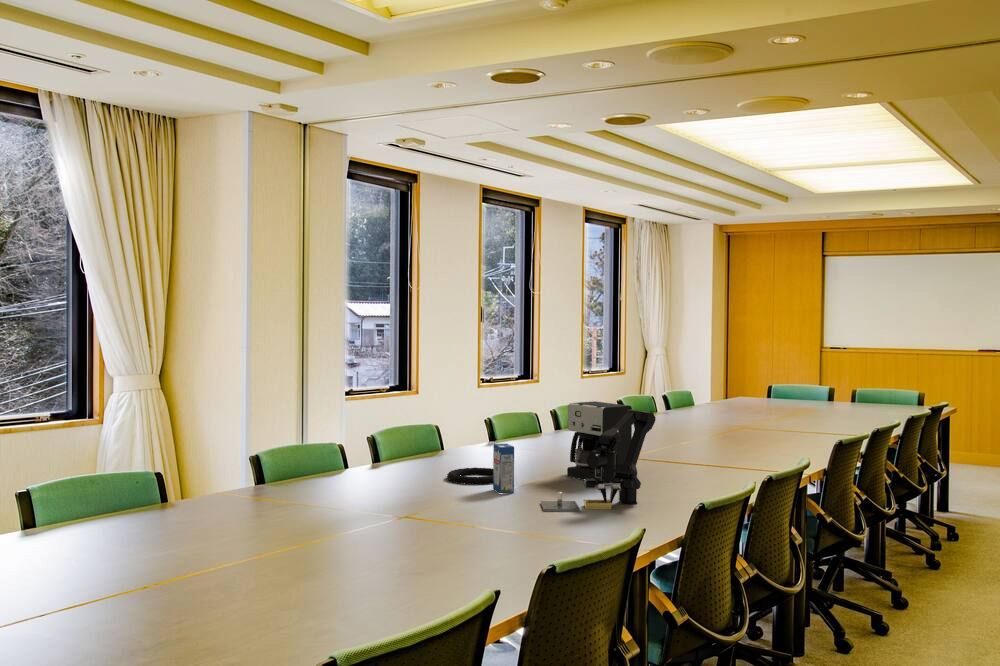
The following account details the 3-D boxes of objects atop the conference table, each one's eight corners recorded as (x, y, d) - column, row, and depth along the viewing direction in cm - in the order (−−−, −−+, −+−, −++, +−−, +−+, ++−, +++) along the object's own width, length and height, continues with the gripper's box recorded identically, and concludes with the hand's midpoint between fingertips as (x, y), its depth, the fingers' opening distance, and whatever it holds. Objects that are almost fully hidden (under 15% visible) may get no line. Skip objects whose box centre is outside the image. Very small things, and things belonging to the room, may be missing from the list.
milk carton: (513, 493, 368) (514, 446, 367) (500, 494, 366) (500, 447, 365) (506, 488, 377) (507, 443, 377) (493, 489, 375) (493, 443, 375)
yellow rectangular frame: (608, 505, 345) (608, 499, 345) (611, 509, 339) (611, 503, 339) (583, 505, 345) (583, 499, 345) (586, 509, 338) (586, 503, 338)
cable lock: (455, 465, 415) (516, 468, 409) (455, 473, 415) (516, 476, 410) (439, 475, 388) (505, 478, 382) (439, 484, 388) (505, 487, 382)
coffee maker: (560, 475, 412) (561, 401, 411) (590, 471, 423) (591, 399, 423) (601, 484, 389) (601, 407, 388) (631, 479, 401) (632, 404, 400)
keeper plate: (575, 503, 349) (575, 488, 348) (579, 511, 335) (579, 496, 334) (540, 503, 348) (540, 488, 348) (543, 511, 334) (543, 496, 334)
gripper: (628, 462, 350) (627, 500, 350) (582, 462, 349) (581, 500, 350) (633, 467, 339) (632, 506, 339) (586, 467, 338) (585, 506, 339)
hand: (608, 504), depth 342 cm, fingers closed on yellow rectangular frame, 1 cm apart
